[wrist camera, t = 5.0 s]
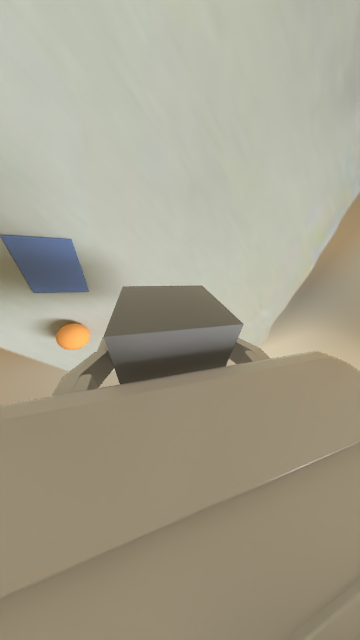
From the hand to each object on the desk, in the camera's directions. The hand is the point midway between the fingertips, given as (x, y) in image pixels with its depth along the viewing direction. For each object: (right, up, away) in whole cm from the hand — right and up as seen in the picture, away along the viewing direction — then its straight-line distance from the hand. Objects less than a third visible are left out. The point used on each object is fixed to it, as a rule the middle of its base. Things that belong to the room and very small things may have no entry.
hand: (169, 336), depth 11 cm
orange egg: (-19, -2, +13) cm, 24 cm away
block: (-1, +2, +2) cm, 3 cm away
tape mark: (-19, +10, +9) cm, 23 cm away
